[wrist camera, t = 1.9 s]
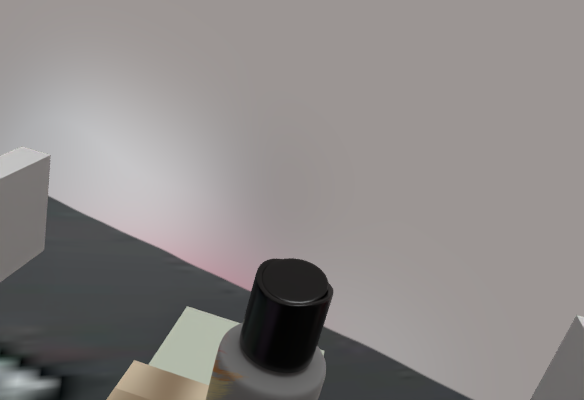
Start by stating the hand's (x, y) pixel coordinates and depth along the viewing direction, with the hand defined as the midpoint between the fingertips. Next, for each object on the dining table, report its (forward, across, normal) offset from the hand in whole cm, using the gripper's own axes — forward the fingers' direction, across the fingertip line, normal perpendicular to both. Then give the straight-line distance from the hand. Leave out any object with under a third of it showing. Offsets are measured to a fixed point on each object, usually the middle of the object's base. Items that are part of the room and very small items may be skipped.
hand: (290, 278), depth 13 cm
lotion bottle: (+11, 0, -26) cm, 29 cm away
